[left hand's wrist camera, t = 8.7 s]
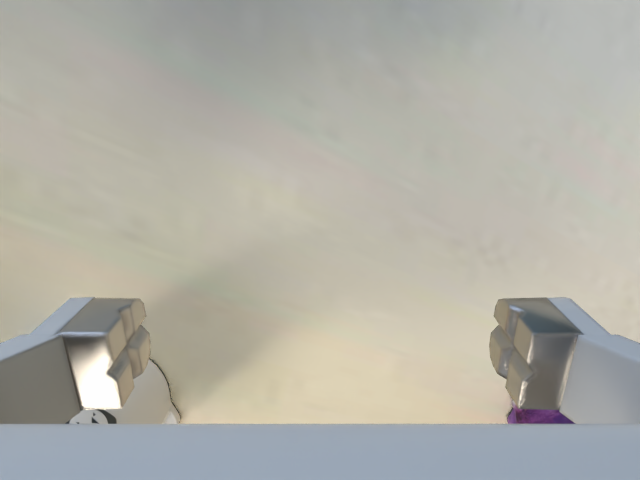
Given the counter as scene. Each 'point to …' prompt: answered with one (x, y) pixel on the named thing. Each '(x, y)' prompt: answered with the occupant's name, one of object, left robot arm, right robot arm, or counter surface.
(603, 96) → the counter surface
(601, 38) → the counter surface
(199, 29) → the counter surface
